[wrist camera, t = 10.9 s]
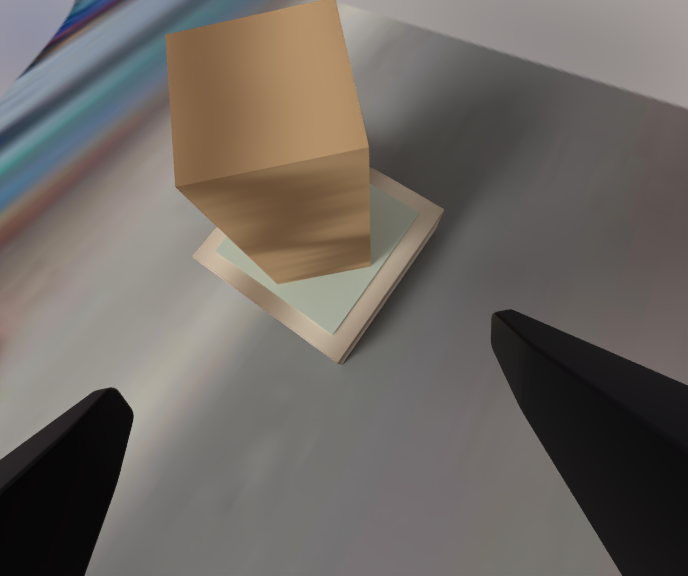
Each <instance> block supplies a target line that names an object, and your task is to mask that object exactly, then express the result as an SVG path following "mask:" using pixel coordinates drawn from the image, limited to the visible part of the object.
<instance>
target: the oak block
mask: <svg viewBox="0 0 688 576" xmlns="http://www.w3.org/2000/svg"><path fill="white" fill-rule="evenodd" d="M166 50H167V65H168V81H169V96H170V111H171V127H172V142H173V157H174V173H175V187H176V188H177V189H178V190H179V191H180V192H181V193H182V194H183V195H184V196H185V197H186V198H187V199H189V200H190V201H191V202H192V203H193V204H194V205H195V206H196V207H197V208H198V209H199V210H200V211H201V212H202V213H203V214H204V215H205V216H206V217H207V218H208V219H209V220H210V221H212V222H213V223H214V224H215V225H216V226H217V227H218V228H219V229H220V230H221V231H222V232H223V233H224V234H225V235H226V236H227V237H228V238H229V239H230V240H231V241H232V242H234V243H235V244H236V245H237V246H238V247H239V248H240V249H241V250H242V251H243V252H244V253H245V254H246V255H247V256H248V257H249V258H250V259H251V260H252V261H253V262H254V263H256V264H257V265H258V266H259V267H260V268H261V269H262V270H263V271H264V272H265V273H266V274H267V275H268V276H269V277H270V278H271V279H272V280H273V281H274V282H275V283H276V284H277V285H278V284H283V283H288V282H293V281H299V280H304V279H309V278H314V277H319V276H324V275H329V274H334V273H340V272H345V271H350V270H355V269H360V268H365V267H370V266H371V254H370V183H369V145H368V141H367V136H366V132H365V127H364V123H363V119H362V114H361V110H360V105H359V101H358V97H357V92H356V88H355V83H354V79H353V75H352V70H351V66H350V61H349V57H348V53H347V48H346V44H345V39H344V35H343V31H342V26H341V22H340V17H339V13H338V9H337V4H336V0H321V1H316V2H312V3H307V4H303V5H298V6H294V7H289V8H285V9H280V10H276V11H271V12H266V13H262V14H257V15H253V16H248V17H244V18H239V19H235V20H230V21H226V22H221V23H216V24H212V25H207V26H203V27H198V28H194V29H189V30H185V31H180V32H176V33H171V34H167V35H166Z"/></svg>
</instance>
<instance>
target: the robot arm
mask: <svg viewBox="0 0 688 576" xmlns="http://www.w3.org/2000/svg"><path fill="white" fill-rule="evenodd" d="M491 345H492V349H493V351H494V353H495V355H496V358H497V360H498V362H499V364H500V366H501V368H502V371H503V373H504V375H505V377H506V379H507V381H508V383H509V386H510V388H511V390H512V392H513V394H514V396H515V398H516V400H517V402H518V405H519V407H520V408H521V410H522V412H523V414H524V415H525V417H526V419H527V420H528V422H529V424H530V425H531V427H532V429H533V430H534V432H535V434H536V435H537V437H538V438H539V440H540V442H541V443H542V445H543V447H544V448H545V450H546V452H547V453H548V455H549V456H550V458H551V460H552V461H553V463H554V465H555V466H556V468H557V470H558V471H559V473H560V474H561V476H562V478H563V479H564V481H565V483H566V484H567V486H568V488H569V489H570V491H571V493H572V494H573V496H574V497H575V499H576V501H577V502H578V504H579V506H580V507H581V509H582V511H583V512H584V514H585V515H586V517H587V519H588V520H589V522H590V524H591V525H592V527H593V529H594V530H595V532H596V533H597V535H598V537H599V538H600V540H601V542H602V543H603V545H604V547H605V548H606V550H607V552H608V553H609V555H610V556H611V558H612V560H613V561H614V563H615V565H616V566H617V568H618V570H619V571H620V573H621V574H622V576H688V385H685V384H683V383H681V382H679V381H676V380H674V379H672V378H669V377H667V376H665V375H662V374H660V373H658V372H655V371H653V370H651V369H648V368H646V367H644V366H642V365H639V364H637V363H635V362H632V361H630V360H628V359H625V358H623V357H621V356H618V355H616V354H614V353H611V352H609V351H607V350H605V349H602V348H600V347H598V346H595V345H593V344H591V343H588V342H586V341H584V340H581V339H579V338H577V337H575V336H572V335H570V334H568V333H565V332H563V331H561V330H558V329H556V328H554V327H551V326H549V325H547V324H544V323H542V322H540V321H538V320H535V319H533V318H531V317H528V316H526V315H524V314H521V313H519V312H517V311H514V310H511V309H509V310H503V311H498V312H495V313H494V314H493V315H492V319H491ZM133 417H134V415H133V411H132V409H131V407H130V406H129V405H128V403H127V402H126V400H125V399H124V398H123V396H122V395H121V393H120V392H119V391H118V390H117V389H115V388H112V387H110V388H105V389H100V390H96V391H94V392H92V393H91V394H89V395H88V396H87V397H85V398H84V399H83V400H81V401H80V402H79V403H77V404H76V405H74V406H73V407H72V408H70V409H69V410H68V411H66V412H65V413H64V414H62V415H61V416H59V417H58V418H57V419H55V420H54V421H53V422H51V423H50V424H49V425H47V426H46V427H44V428H43V429H42V430H40V431H39V432H38V433H36V434H35V435H33V436H32V437H31V438H29V439H28V440H27V441H25V442H24V443H23V444H21V445H20V446H18V447H17V448H16V449H14V450H13V451H12V452H10V453H9V454H8V455H6V456H5V457H3V458H2V459H1V460H0V576H85V573H86V570H87V567H88V564H89V562H90V559H91V556H92V553H93V550H94V548H95V545H96V542H97V539H98V536H99V534H100V531H101V528H102V525H103V522H104V520H105V517H106V514H107V511H108V508H109V505H110V503H111V500H112V497H113V494H114V491H115V488H116V485H117V482H118V478H119V475H120V471H121V467H122V463H123V459H124V455H125V451H126V447H127V443H128V439H129V435H130V431H131V427H132V423H133Z"/></svg>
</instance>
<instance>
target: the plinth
mask: <svg viewBox="0 0 688 576" xmlns="http://www.w3.org/2000/svg"><path fill="white" fill-rule="evenodd" d="M369 183H370V254H371V266H370V267H365V268H360V269H355V270H350V271H345V272H340V273H334V274H329V275H324V276H319V277H314V278H309V279H304V280H299V281H293V282H288V283H283V284H278V285H277V284H276V283H275V282H274V281H273V280H272V279H271V278H270V277H269V276H268V275H267V274H266V273H265V272H264V271H263V270H262V269H261V268H260V267H259V266H258V265H257V264H256V263H254V262H253V261H252V260H251V259H250V258H249V257H248V256H247V255H246V254H245V253H244V252H243V251H242V250H241V249H240V248H239V247H238V246H237V245H236V244H235V243H234V242H232V241H231V240H230V239H229V238H228V237H227V236H226V235H225V234H224V233H223V232H222V231H221V230H220V229H219V228H218V227H216V228H215V229H214V231H213V232H212V233H211V234H210V236H209V237H208V238H207V239H206V240H205V242H204V243H203V244H202V245H201V247H200V248H199V249H198V250H197V252H196V253H195V254H194V255H193V256H192V257H193V258H194V259H195V260H197V261H198V262H200V263H201V264H202V265H204V266H205V267H206V268H208V269H209V270H210V271H212V272H213V273H215V274H216V275H217V276H219V277H220V278H221V279H223V280H224V281H226V282H227V283H228V284H230V285H231V286H232V287H234V288H235V289H236V290H238V291H239V292H241V293H242V294H243V295H245V296H246V297H247V298H249V299H250V300H252V301H253V302H254V303H256V304H257V305H258V306H260V307H261V308H262V309H264V310H265V311H267V312H268V313H269V314H271V315H272V316H273V317H275V318H276V319H277V320H279V321H280V322H282V323H283V324H284V325H286V326H287V327H288V328H290V329H291V330H293V331H294V332H295V333H297V334H298V335H299V336H301V337H302V338H303V339H305V340H306V341H308V342H309V343H310V344H312V345H313V346H314V347H316V348H317V349H318V350H320V351H321V352H323V353H324V354H325V355H327V356H328V357H329V358H331V359H332V360H334V361H335V362H336V363H338V364H341V365H342V364H343V363H344V361H345V360H346V358H347V357H348V355H349V354H350V353H351V351H352V350H353V348H354V347H355V345H356V344H357V342H358V341H359V340H360V338H361V337H362V335H363V334H364V332H365V331H366V330H367V328H368V327H369V325H370V324H371V322H372V321H373V319H374V318H375V317H376V315H377V314H378V312H379V311H380V309H381V308H382V306H383V305H384V304H385V302H386V301H387V299H388V298H389V296H390V295H391V294H392V292H393V291H394V289H395V288H396V286H397V285H398V283H399V282H400V281H401V279H402V278H403V276H404V275H405V273H406V272H407V270H408V269H409V268H410V266H411V265H412V263H413V262H414V260H415V259H416V258H417V256H418V255H419V253H420V252H421V250H422V249H423V247H424V246H425V245H426V243H427V242H428V240H429V239H430V237H431V236H432V234H433V233H434V232H435V230H436V228H437V226H438V223H439V221H440V219H441V216H442V214H443V212H444V209H443V208H441V207H439V206H438V205H436V204H434V203H432V202H431V201H429V200H427V199H425V198H424V197H422V196H420V195H419V194H417V193H415V192H413V191H412V190H410V189H408V188H406V187H405V186H403V185H401V184H400V183H398V182H396V181H394V180H393V179H391V178H389V177H388V176H386V175H384V174H382V173H381V172H379V171H377V170H375V169H374V168H372V167H370V166H369Z"/></svg>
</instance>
